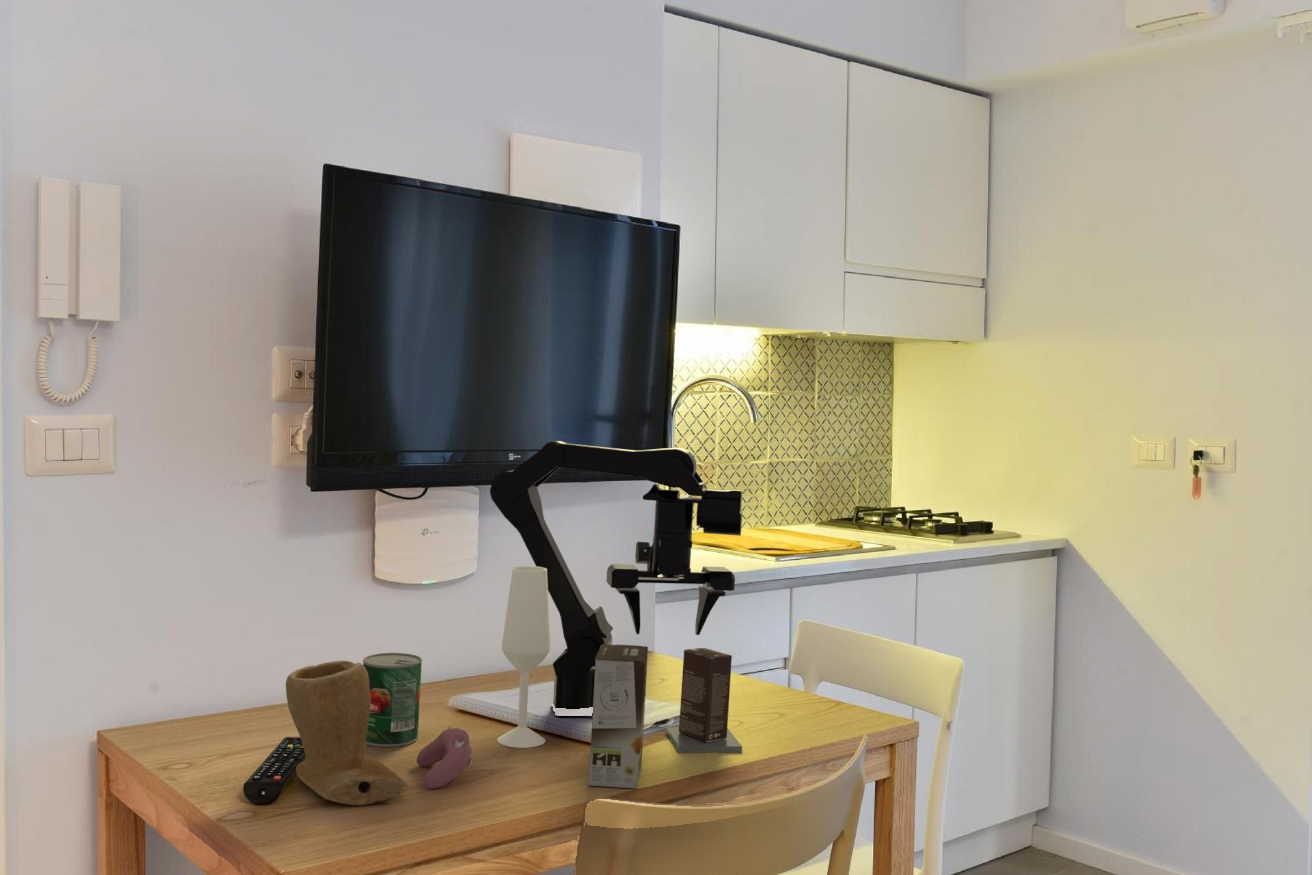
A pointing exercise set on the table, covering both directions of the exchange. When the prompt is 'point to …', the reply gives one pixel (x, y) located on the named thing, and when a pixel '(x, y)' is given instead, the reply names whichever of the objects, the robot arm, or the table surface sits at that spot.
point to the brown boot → (338, 734)
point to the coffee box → (618, 716)
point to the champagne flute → (526, 641)
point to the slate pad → (702, 742)
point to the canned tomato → (393, 699)
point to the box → (705, 694)
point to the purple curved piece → (445, 757)
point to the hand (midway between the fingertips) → (667, 634)
